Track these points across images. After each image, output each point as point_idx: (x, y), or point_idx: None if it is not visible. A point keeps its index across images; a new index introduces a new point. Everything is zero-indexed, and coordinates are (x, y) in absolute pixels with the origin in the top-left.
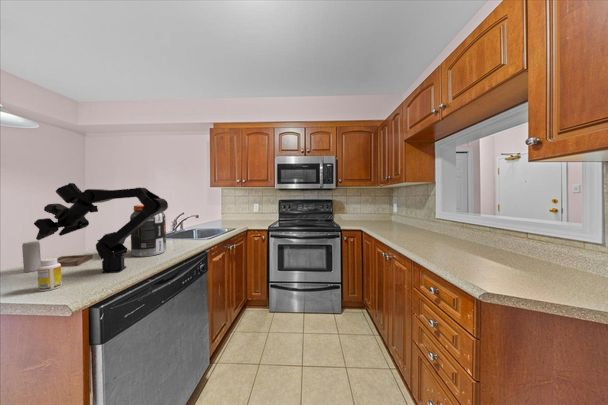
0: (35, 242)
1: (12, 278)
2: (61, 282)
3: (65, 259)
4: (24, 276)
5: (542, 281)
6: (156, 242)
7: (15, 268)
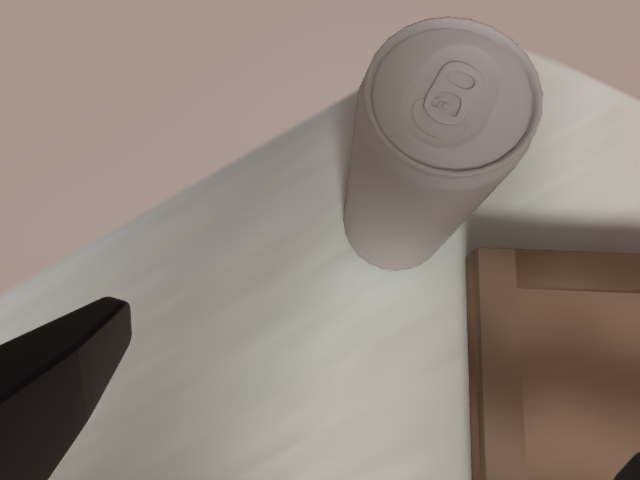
0: (469, 137)
1: (223, 203)
2: None
3: None
4: (248, 255)
5: None
6: None
7: None
